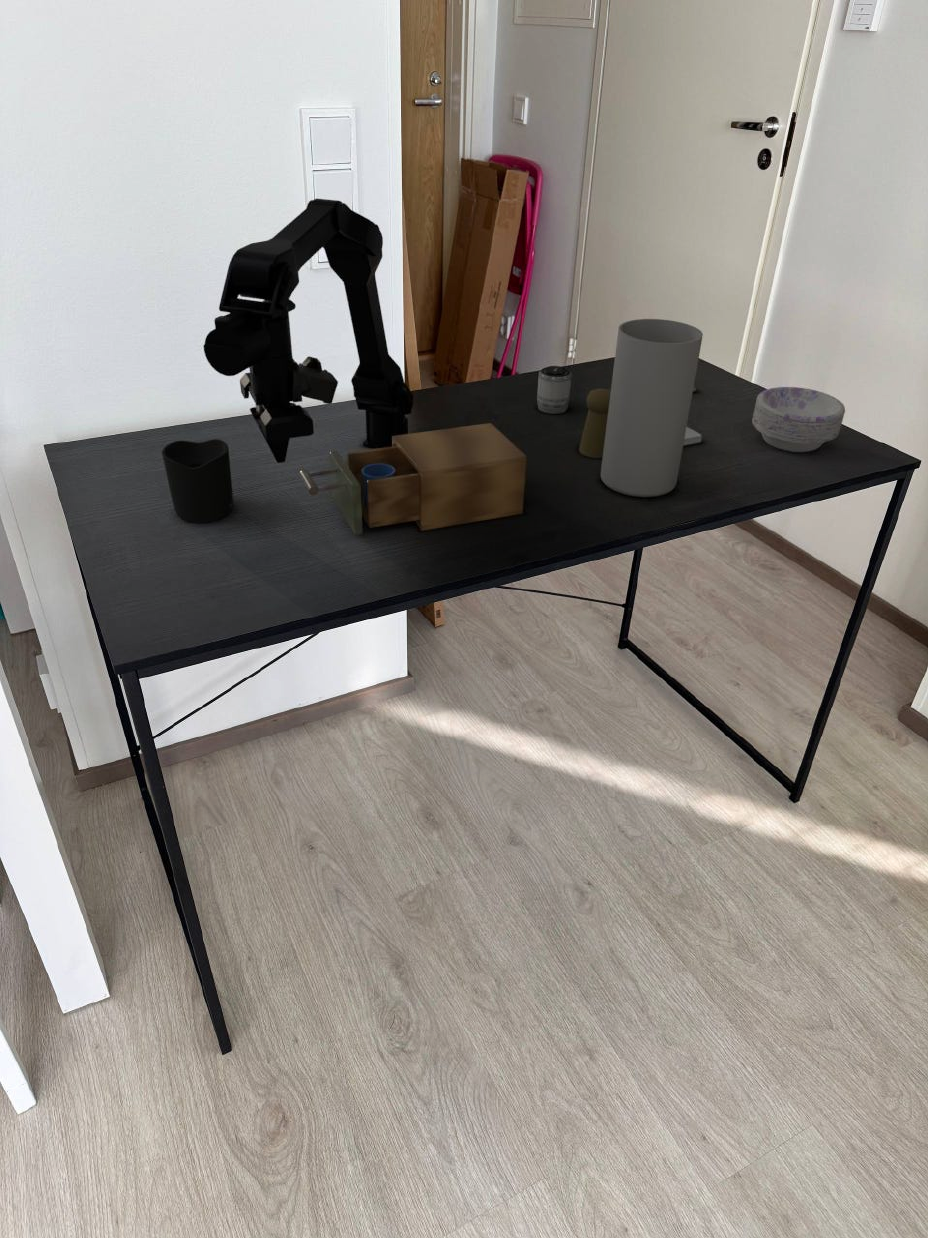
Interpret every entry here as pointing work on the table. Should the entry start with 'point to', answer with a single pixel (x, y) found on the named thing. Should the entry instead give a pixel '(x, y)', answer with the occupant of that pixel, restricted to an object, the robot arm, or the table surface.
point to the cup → (375, 476)
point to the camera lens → (553, 389)
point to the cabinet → (465, 474)
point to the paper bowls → (797, 418)
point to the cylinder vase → (649, 405)
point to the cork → (595, 423)
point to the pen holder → (199, 479)
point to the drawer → (371, 488)
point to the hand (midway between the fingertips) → (280, 461)
